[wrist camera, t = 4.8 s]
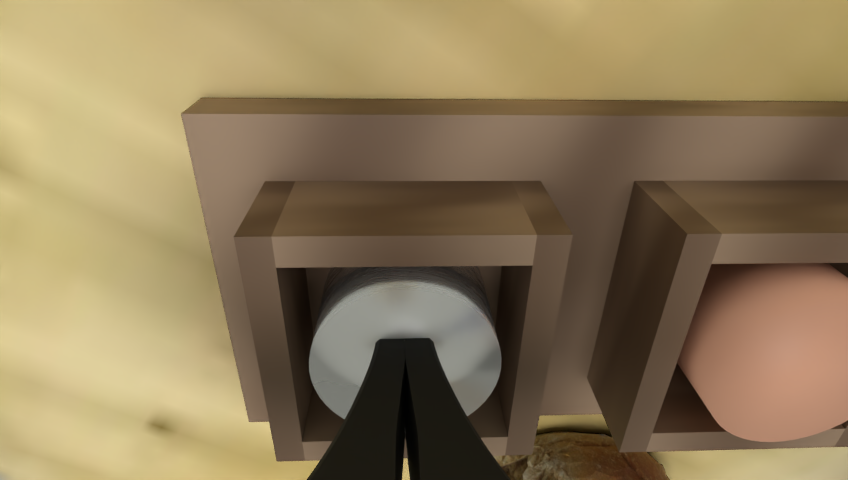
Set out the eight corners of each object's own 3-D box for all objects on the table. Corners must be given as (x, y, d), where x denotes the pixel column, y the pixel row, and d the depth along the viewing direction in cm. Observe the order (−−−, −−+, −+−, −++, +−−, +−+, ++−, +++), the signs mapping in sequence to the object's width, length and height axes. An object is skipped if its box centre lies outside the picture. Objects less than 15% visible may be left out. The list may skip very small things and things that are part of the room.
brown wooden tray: (937, 102, 15) (1128, 158, 11) (795, 379, 20) (888, 482, 17) (201, 97, 14) (124, 157, 10) (259, 390, 19) (224, 501, 16)
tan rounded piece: (849, 234, 14) (948, 298, 12) (785, 362, 17) (856, 439, 14) (681, 235, 14) (744, 301, 12) (641, 365, 17) (686, 444, 14)
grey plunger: (490, 227, 14) (510, 289, 12) (478, 356, 17) (493, 432, 14) (317, 228, 14) (299, 292, 12) (330, 359, 17) (317, 436, 14)
